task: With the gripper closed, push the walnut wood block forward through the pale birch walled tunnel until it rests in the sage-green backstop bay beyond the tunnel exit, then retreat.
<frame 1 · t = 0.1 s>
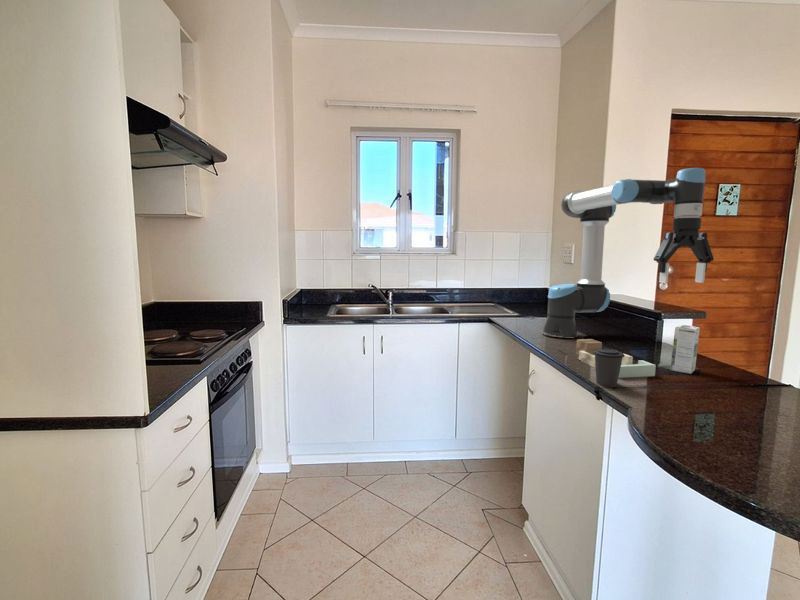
hand: (681, 282, 132), 28 cm above the table, fingers open, 13 cm apart
backstop bay: (634, 376, 122), on the table
coffee cup: (606, 384, 116), on the table
tunnel: (604, 363, 136), on the table
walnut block: (588, 357, 145), on the table
syrup box: (683, 371, 128), on the table
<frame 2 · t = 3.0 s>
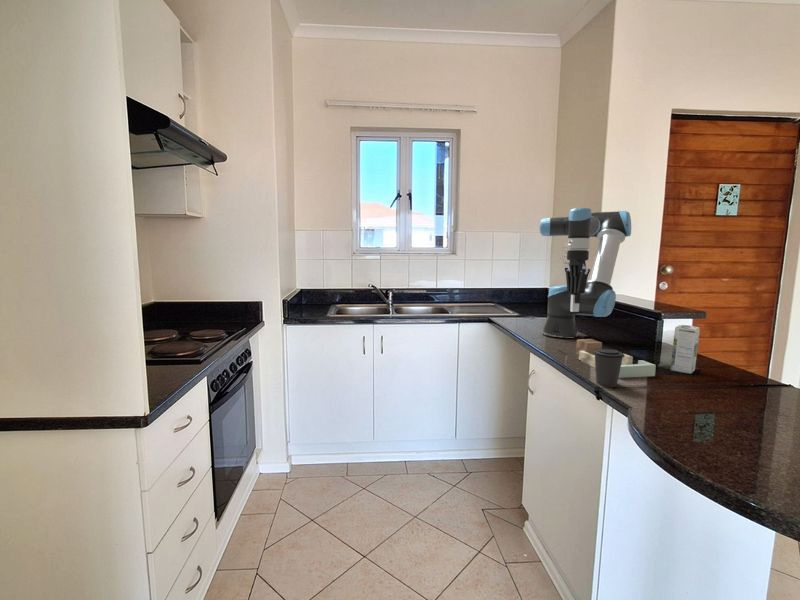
hand: (574, 311, 153), 15 cm above the table, fingers closed
nothing on the table moved.
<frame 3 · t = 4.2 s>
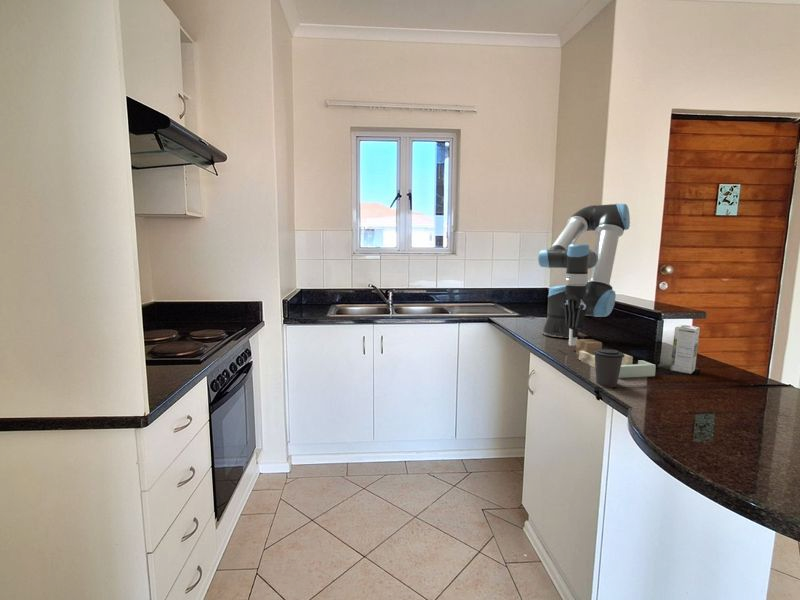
hand: (572, 345, 154), 2 cm above the table, fingers closed
nothing on the table moved.
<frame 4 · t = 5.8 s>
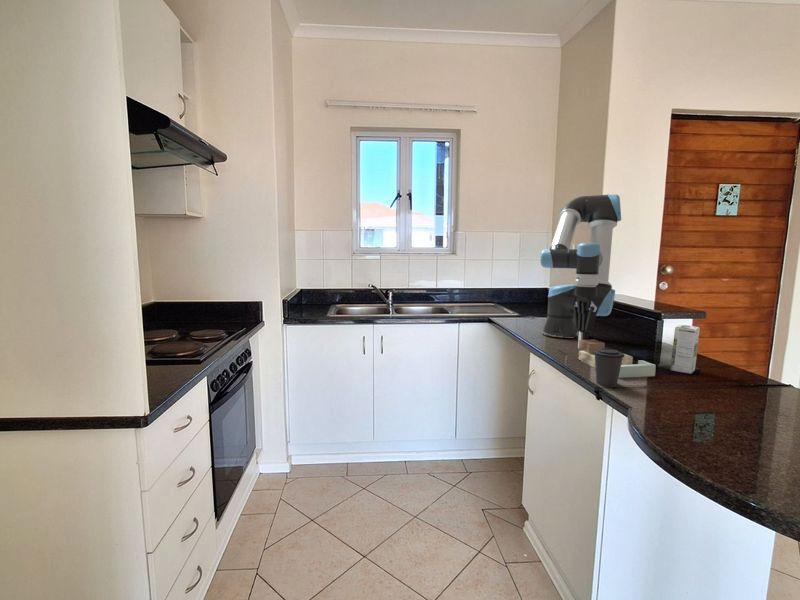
hand: (582, 348, 148), 2 cm above the table, fingers closed
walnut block: (590, 357, 143), on the table, touching gripper
everything else where it was.
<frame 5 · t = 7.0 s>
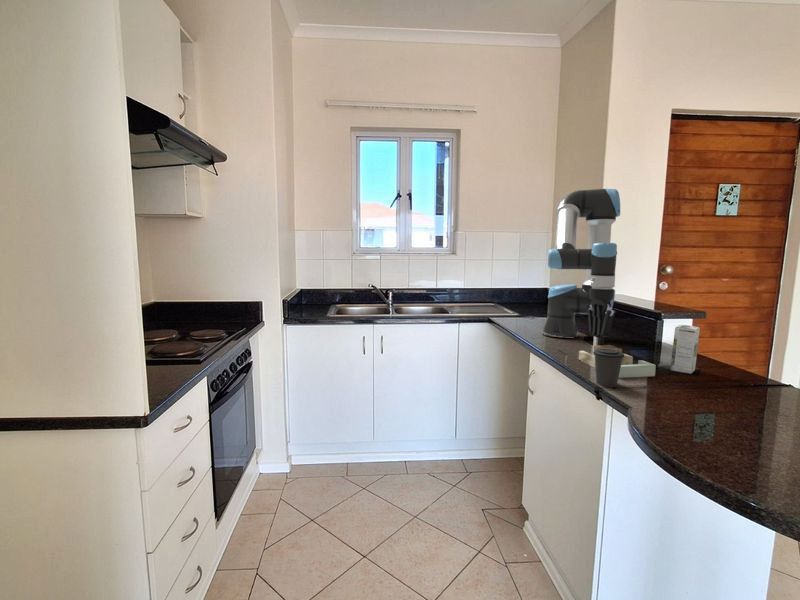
hand: (597, 354, 139), 2 cm above the table, fingers closed
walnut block: (606, 364, 135), on the table, touching gripper
everything else where it was.
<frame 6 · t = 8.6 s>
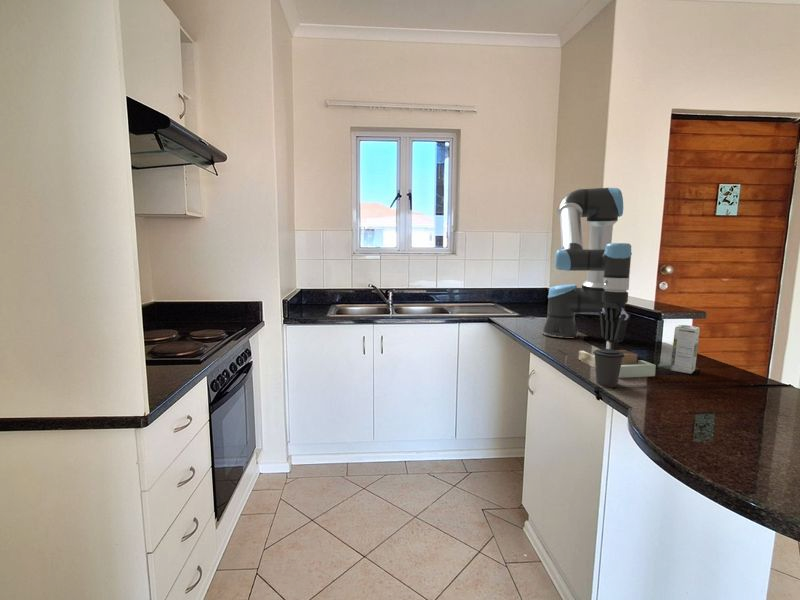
hand: (610, 360, 133), 2 cm above the table, fingers closed
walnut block: (620, 370, 128), on the table, touching gripper
everything else where it was.
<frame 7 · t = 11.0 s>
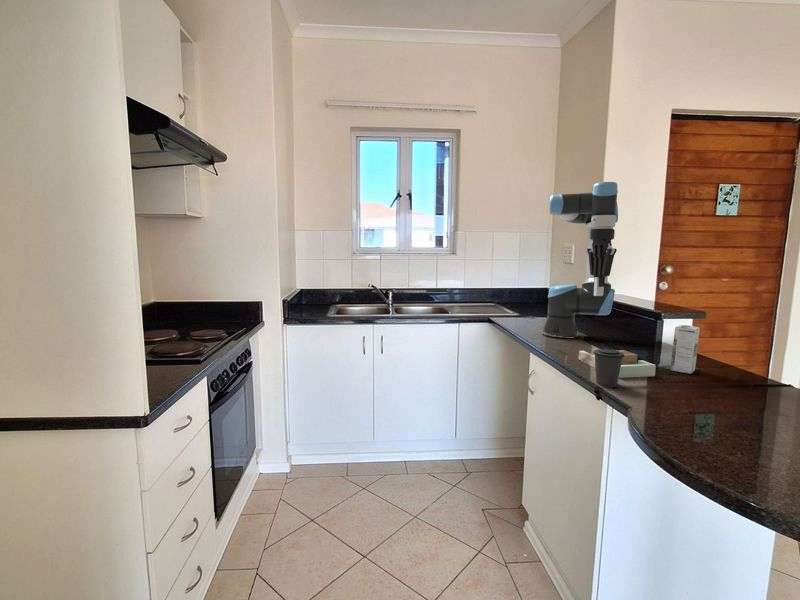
hand: (598, 295, 141), 23 cm above the table, fingers closed
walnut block: (620, 370, 128), on the table
everything else where it was.
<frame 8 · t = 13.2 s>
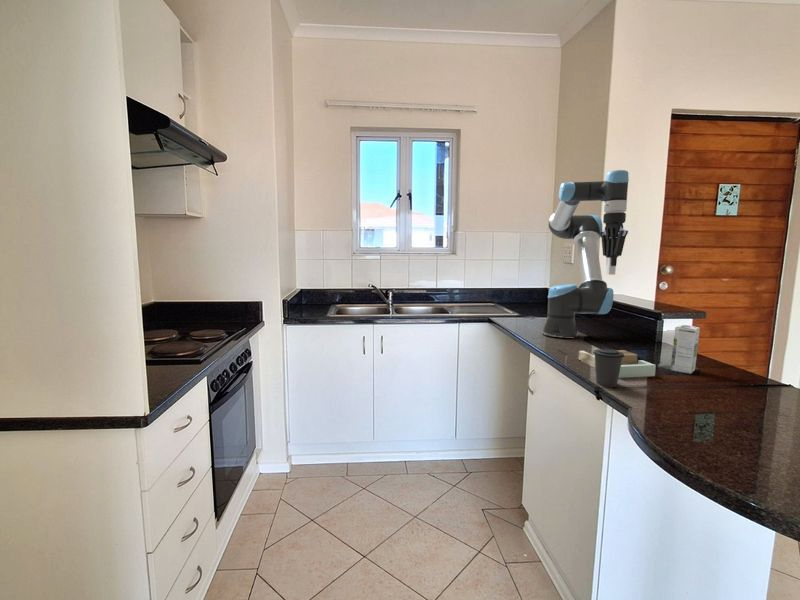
hand: (610, 274, 154), 29 cm above the table, fingers closed
nothing on the table moved.
at the end: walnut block inside the target area (1.0 cm from its centre), on the table; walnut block tilted 0°; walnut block moved 17.0 cm from its start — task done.
